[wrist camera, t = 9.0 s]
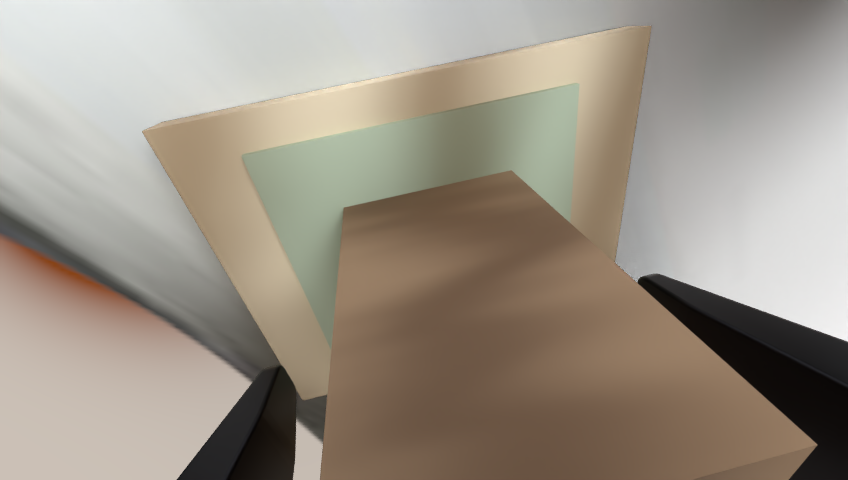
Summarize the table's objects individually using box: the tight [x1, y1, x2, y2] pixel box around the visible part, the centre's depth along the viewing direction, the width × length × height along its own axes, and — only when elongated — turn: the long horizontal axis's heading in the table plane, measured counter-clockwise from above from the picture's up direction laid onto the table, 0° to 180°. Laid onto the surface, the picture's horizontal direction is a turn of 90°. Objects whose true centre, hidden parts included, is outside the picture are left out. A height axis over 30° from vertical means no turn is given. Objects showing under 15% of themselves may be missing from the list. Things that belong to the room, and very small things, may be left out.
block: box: [320, 170, 817, 480], centre depth 8 cm, size 5×5×8 cm
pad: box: [142, 26, 652, 400], centre depth 12 cm, size 13×11×1 cm
